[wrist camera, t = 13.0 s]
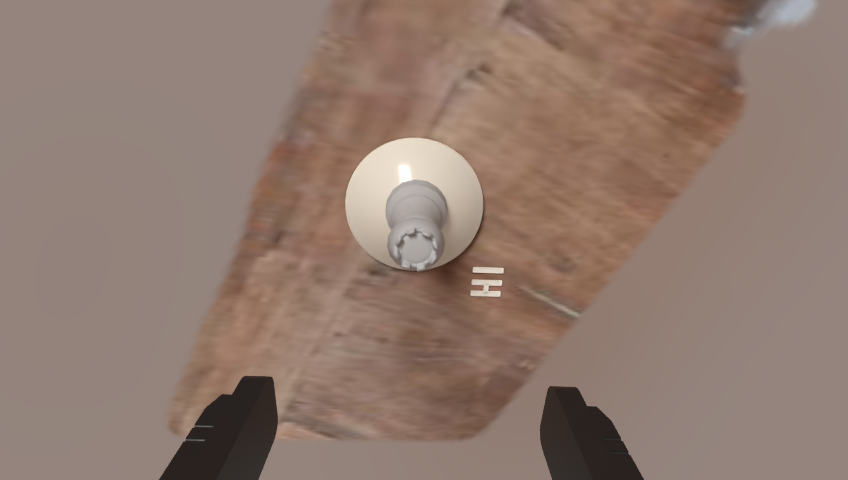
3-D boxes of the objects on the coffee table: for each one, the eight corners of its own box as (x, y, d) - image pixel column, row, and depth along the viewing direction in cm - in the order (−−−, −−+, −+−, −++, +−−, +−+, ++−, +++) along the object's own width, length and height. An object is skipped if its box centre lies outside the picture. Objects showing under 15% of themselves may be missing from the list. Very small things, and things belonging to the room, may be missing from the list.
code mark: (499, 296, 33) (499, 296, 33) (470, 295, 33) (470, 295, 33) (503, 268, 32) (503, 268, 32) (473, 266, 32) (473, 267, 32)
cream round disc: (344, 133, 28) (343, 135, 28) (488, 140, 28) (490, 141, 28) (348, 264, 32) (347, 268, 31) (475, 269, 32) (476, 272, 32)
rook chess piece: (460, 205, 30) (474, 248, 22) (418, 248, 31) (419, 302, 23) (413, 164, 28) (412, 195, 21) (373, 210, 30) (357, 254, 22)
